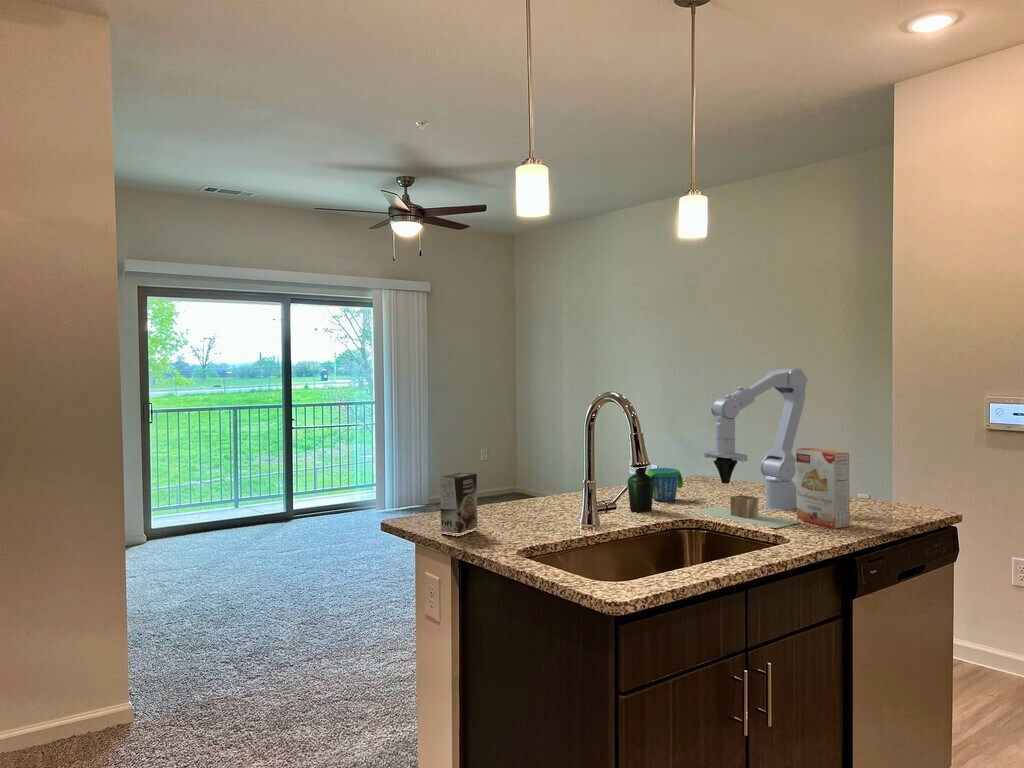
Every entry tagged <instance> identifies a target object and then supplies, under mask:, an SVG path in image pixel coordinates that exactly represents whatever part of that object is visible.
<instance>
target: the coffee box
mask: <svg viewBox="0 0 1024 768" xmlns="http://www.w3.org/2000/svg"><path fill="white" fill-rule="evenodd" d="M477 476H478V475H477V473H473V472H471V473H470V472H457V473H451V474H447V475H442V476H440V532H441V531H445V532H451V533H462V532H465V531H467V530H471V529H473V528H476V527H477V528H478V481H477V480H478V477H477Z"/></svg>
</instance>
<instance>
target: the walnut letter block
mask: <svg viewBox="0 0 1024 768" xmlns="http://www.w3.org/2000/svg"><path fill="white" fill-rule="evenodd" d="M730 509H731V516H737V517H742V518H747V519H748V518H753V517H758V514H759V497H755V496H749V495H743V494H741V495H740V494H739V495H736V496H735V495H734V496H730Z"/></svg>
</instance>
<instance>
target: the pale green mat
mask: <svg viewBox="0 0 1024 768" xmlns="http://www.w3.org/2000/svg"><path fill="white" fill-rule="evenodd" d="M689 512H691V513H697V514H701V515H706V516H707V515H708V516H711V517H716V518H717V517H718V518H723V519H728V520H732V521H738V522H743V523H747V524H752V525H753V524H754V525H759V526H762V527H769V528H779V527H783V528H785V527H784V526H788V525H792V526H794V525H793V524H796V525H798V524H797V523H802V522H801V521H797V520H791V519H787V518H781V517H780V518H779V517H776V516H775V517H774V516H769V515H763V514H759V513H758V517H753V518H748V519H747V518H742V517H737V516H731V508H724V507H720V506H712V507H705V508H700V509H696V510H690V511H689ZM788 527H789V526H788ZM779 529H780V528H779Z"/></svg>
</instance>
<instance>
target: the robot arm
mask: <svg viewBox="0 0 1024 768" xmlns="http://www.w3.org/2000/svg"><path fill="white" fill-rule="evenodd" d="M807 382H808V377H807V376H806V374H805V372H804V371H803V370H802V369H801V368H775V369H773V370H771V371H769V372H768V373H767V374H766V375H765V376H764V377H762V378H761V379H759V380H758V381H757V382H755V383H753V384H752V385H750V386H749V387H748V386H737V388H736V390H735V391H734V392H732V393H730V394H726V395H725V397H724V398H719V399H716V400H715V401H714V402H713V405H712V406H711V408H710V410H711V414H712V415H713V418H714V422H715V425H714V426H715V451H714V450H704V458H705V459H706V458H709V459H710V458H711V459H715V460H713V463H714V465H715V467H716V469H717V472H718V474H719V477H720V481H721V484H725V485H727V484H730V481H731V477H732V474H733V471H734V469H735V468H736V466H737V464H738V462H742V463H745V462H748V454H742V453H737V452H736V418H737V417H738V415H739V414H740V411H742V410H744V409H745V408H746V407H749V406H750V405H752V404H753V403H754V402H755V401H756V397H758V396H759V395H762V394H763V393H765V392H767V391H768V390H771V389H775V390H776V391H777V392H778V393H779V394H780V395H781V396H782V397H783V398H784V400H785V402H784V405H783V410H782V413H781V416H780V417H781V418H780V420H779V424H778V428H777V431H776V436H775V439H774V443H773V447H772V448H771V449H769V450H768V451H767V452H766V453H765V456H764V458H763V460H762V461H761V463H760V467H759V468H760V469H759V470H760V472H761V474H762V475H763V476H764V477H763V479H764V480H765V504H764V505H760V506H759V507H760V508H762V509H763V508H764V509H769V510H774V511H781V512H784V511H786V510H794V509H795V510H796V509H797V484H796V483H795V482H794V481H793V478H794V477H795V475H796V456H794V454H793V453H792V450H793V446H794V443H795V439H796V436H797V431H798V429H799V428H798V427H799V424H800V420H801V416H802V413H803V410H804V409H803V408H804V405H805V402H806V401H805V400H806V386H807Z"/></svg>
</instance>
